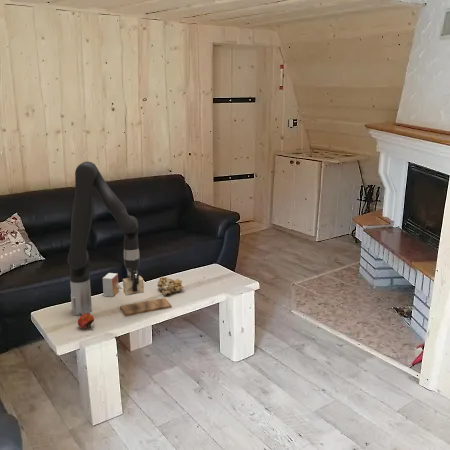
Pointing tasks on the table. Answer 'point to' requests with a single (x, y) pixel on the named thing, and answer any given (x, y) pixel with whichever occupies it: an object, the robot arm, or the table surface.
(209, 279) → the table surface
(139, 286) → the sanding block
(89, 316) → the pomegranate
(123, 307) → the board
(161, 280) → the mineral formation
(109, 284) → the small box
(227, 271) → the table surface
